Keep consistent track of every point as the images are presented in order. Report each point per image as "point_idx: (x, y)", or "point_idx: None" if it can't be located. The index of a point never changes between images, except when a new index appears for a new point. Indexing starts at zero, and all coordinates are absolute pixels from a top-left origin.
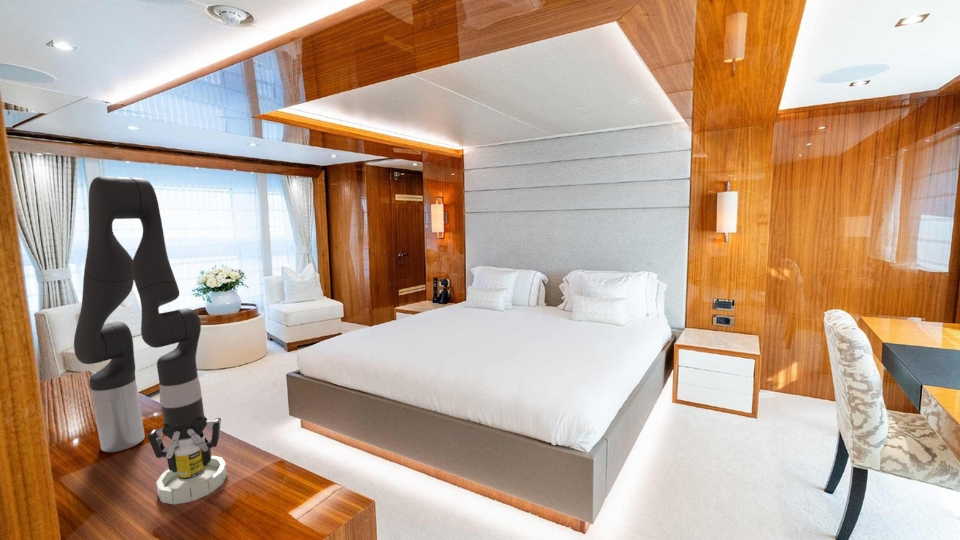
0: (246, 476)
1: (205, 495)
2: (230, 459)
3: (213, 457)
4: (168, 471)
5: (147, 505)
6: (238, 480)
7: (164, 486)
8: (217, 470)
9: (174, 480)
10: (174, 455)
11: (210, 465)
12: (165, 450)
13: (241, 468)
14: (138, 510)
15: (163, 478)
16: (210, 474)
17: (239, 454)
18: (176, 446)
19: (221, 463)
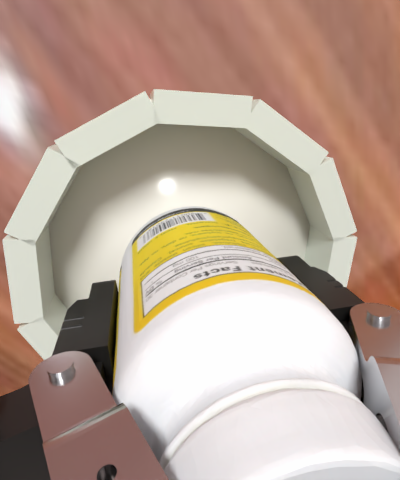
0: (394, 251)
1: None
2: (324, 57)
3: (285, 140)
4: (35, 229)
5: (29, 353)
6: (365, 271)
7: (53, 276)
8: (288, 202)
9: (84, 233)
10: (107, 385)
11: (244, 137)
12: (18, 467)
13: (377, 178)
14: (5, 376)
15: (41, 296)
16: (260, 230)
17: (369, 12)
18: (110, 398)
19: (336, 229)
